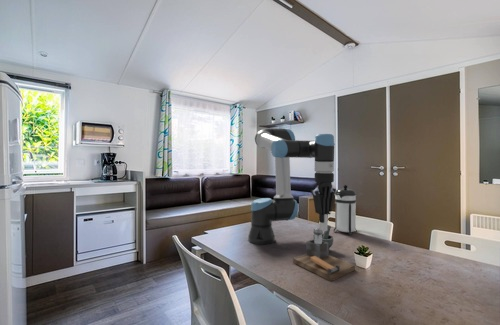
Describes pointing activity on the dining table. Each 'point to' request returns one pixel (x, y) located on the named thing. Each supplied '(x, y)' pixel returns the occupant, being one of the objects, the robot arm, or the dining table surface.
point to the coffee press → (345, 210)
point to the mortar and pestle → (327, 237)
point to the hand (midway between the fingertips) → (323, 229)
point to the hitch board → (322, 253)
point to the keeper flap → (323, 264)
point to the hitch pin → (318, 236)
